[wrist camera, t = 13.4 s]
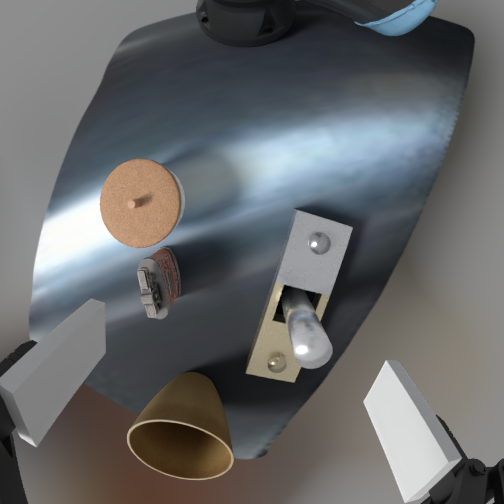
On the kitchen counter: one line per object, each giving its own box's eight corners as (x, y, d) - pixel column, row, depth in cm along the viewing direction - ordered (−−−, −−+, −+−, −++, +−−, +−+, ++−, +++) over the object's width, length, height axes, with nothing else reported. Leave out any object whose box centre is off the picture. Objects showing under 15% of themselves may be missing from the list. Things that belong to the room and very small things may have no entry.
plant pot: (158, 409, 47) (136, 469, 32) (153, 347, 44) (118, 409, 29) (234, 420, 48) (230, 486, 32) (241, 359, 45) (237, 430, 29)
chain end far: (273, 275, 41) (276, 284, 38) (324, 288, 42) (331, 298, 38) (246, 362, 45) (245, 377, 41) (292, 371, 45) (295, 386, 41)
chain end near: (294, 208, 39) (298, 210, 36) (346, 224, 40) (355, 228, 36) (263, 310, 43) (264, 321, 39) (312, 321, 43) (317, 333, 39)
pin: (285, 284, 42) (302, 333, 27) (310, 290, 42) (338, 340, 27) (277, 308, 43) (289, 365, 28) (302, 314, 43) (324, 371, 28)
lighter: (184, 297, 42) (167, 327, 32) (164, 299, 42) (142, 328, 33) (174, 244, 41) (151, 262, 31) (153, 247, 41) (125, 265, 31)
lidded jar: (166, 148, 38) (143, 138, 28) (208, 209, 39) (195, 215, 30) (112, 193, 39) (79, 196, 30) (150, 251, 41) (125, 268, 32)
